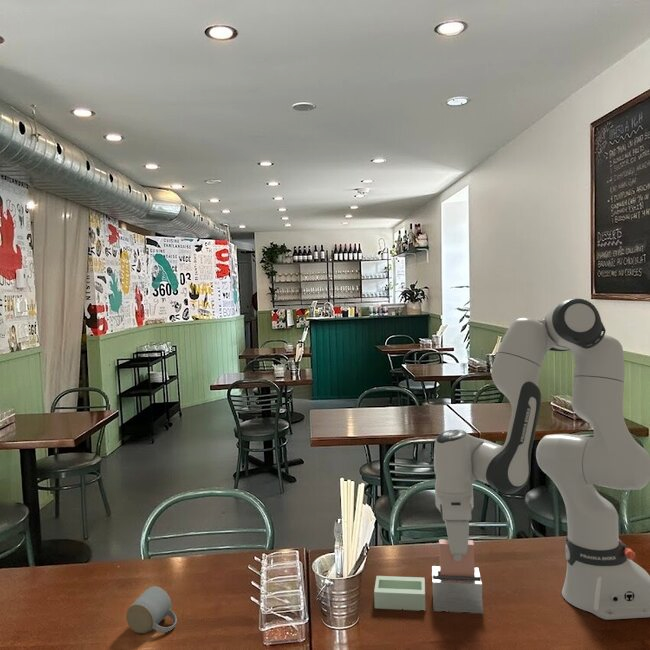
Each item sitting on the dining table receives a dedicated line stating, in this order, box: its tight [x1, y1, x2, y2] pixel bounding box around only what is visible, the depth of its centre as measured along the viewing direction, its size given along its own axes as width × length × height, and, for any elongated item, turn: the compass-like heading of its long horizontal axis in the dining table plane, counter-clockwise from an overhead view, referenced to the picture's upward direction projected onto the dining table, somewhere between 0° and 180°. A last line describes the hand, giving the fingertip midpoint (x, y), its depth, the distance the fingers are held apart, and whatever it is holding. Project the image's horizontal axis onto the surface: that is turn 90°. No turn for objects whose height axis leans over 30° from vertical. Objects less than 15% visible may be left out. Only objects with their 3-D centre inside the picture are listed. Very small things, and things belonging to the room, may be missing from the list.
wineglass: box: [333, 517, 343, 540], centre depth 161 cm, size 6×6×12 cm
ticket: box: [438, 538, 476, 577], centre depth 137 cm, size 8×2×10 cm, turn 81°
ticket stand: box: [373, 575, 427, 612], centre depth 140 cm, size 12×8×4 cm, turn 81°
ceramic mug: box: [126, 585, 178, 635], centre depth 133 cm, size 11×8×8 cm
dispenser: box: [431, 565, 484, 614], centre depth 137 cm, size 11×8×8 cm
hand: (456, 555), depth 137 cm, fingers closed on ticket, 2 cm apart
